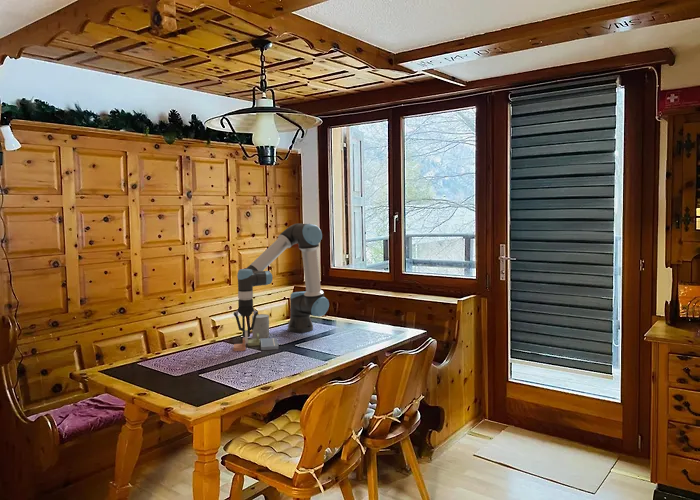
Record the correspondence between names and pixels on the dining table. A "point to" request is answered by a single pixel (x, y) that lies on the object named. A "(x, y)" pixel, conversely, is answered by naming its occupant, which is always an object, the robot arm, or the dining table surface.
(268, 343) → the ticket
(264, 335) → the grey cylinder
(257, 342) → the olive stub
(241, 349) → the terracotta stub
